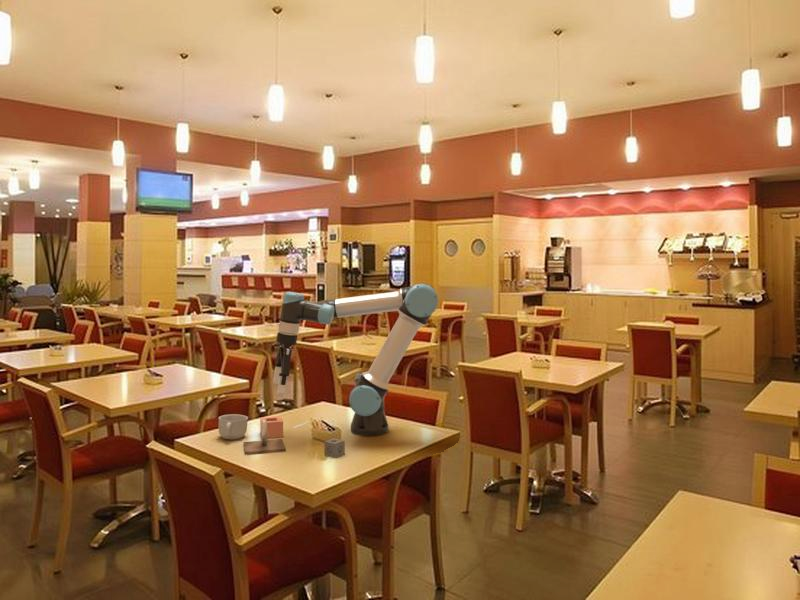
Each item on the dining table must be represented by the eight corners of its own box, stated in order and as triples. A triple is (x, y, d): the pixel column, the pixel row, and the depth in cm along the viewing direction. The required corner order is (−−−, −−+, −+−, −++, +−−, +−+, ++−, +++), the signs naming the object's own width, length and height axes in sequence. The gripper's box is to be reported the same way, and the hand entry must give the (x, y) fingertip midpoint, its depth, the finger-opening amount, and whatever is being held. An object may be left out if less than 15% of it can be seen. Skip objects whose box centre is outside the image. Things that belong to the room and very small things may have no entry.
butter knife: (289, 427, 237) (295, 427, 236) (325, 413, 261) (331, 413, 260) (289, 428, 237) (295, 429, 236) (325, 414, 261) (331, 414, 260)
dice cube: (324, 455, 203) (324, 441, 203) (334, 451, 207) (334, 437, 207) (335, 458, 200) (335, 443, 200) (344, 454, 204) (344, 440, 204)
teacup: (226, 432, 229) (225, 412, 229) (252, 434, 228) (252, 413, 227) (209, 443, 215) (209, 422, 215) (237, 445, 214) (237, 423, 213)
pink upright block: (281, 431, 232) (281, 416, 231) (283, 436, 224) (283, 421, 224) (260, 432, 229) (260, 417, 229) (261, 438, 222) (261, 422, 221)
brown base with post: (282, 441, 218) (282, 415, 218) (285, 451, 207) (285, 423, 206) (243, 444, 214) (243, 417, 213) (244, 454, 203) (244, 426, 202)
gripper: (273, 326, 229) (265, 378, 231) (282, 338, 206) (272, 396, 207) (292, 328, 232) (284, 380, 233) (303, 340, 209) (293, 398, 210)
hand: (278, 388), depth 220 cm, fingers open, 13 cm apart
